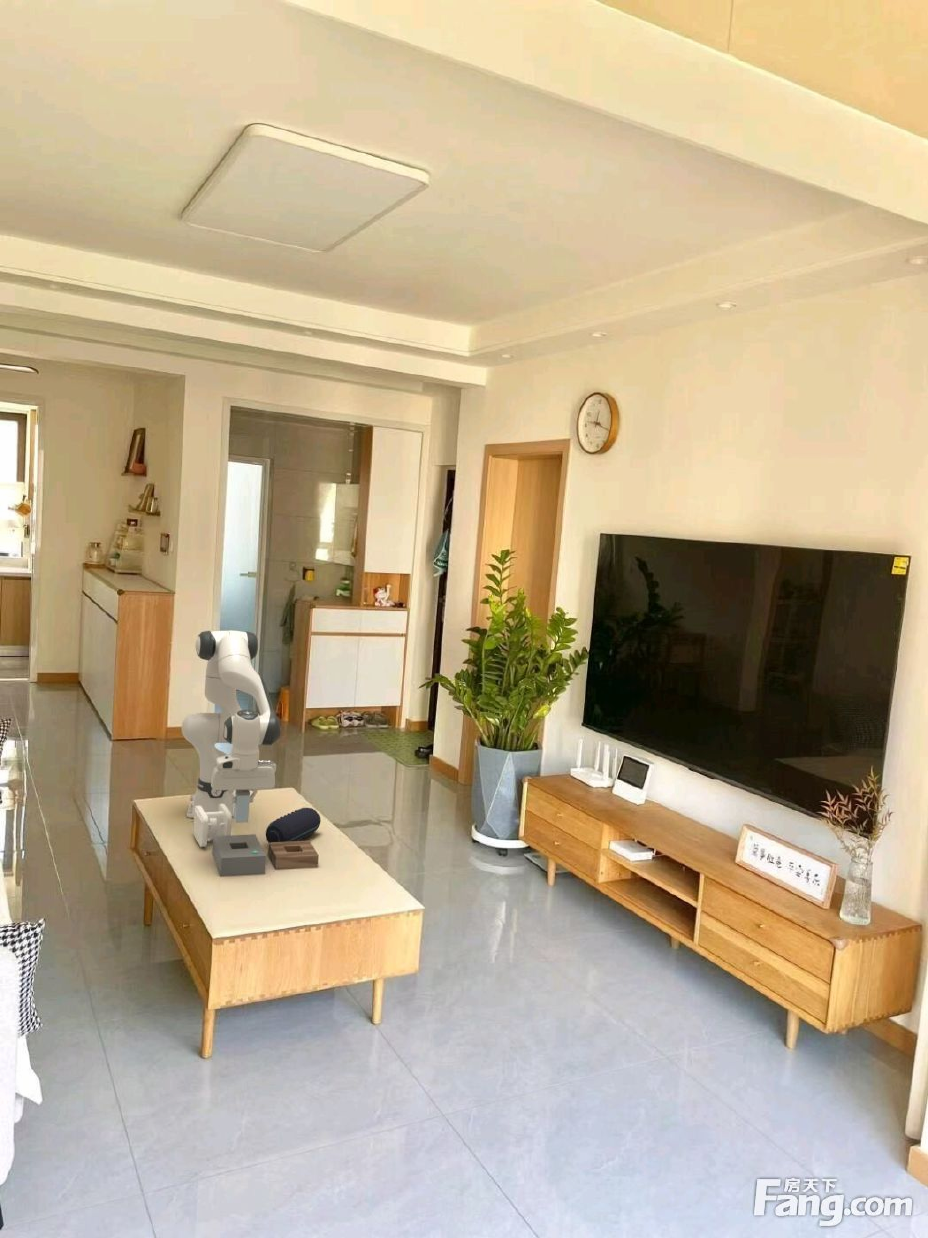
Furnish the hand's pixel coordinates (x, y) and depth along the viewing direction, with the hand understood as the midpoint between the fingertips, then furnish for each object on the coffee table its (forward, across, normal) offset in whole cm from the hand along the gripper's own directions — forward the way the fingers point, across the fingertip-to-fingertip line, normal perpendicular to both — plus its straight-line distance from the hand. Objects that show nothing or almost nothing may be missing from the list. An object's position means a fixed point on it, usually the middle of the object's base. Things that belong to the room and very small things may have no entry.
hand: (242, 802), depth 313 cm
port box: (+21, 0, 0) cm, 21 cm away
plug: (+6, 0, 0) cm, 6 cm away
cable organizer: (+21, +6, -21) cm, 30 cm away
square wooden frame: (+21, -18, 0) cm, 27 cm away
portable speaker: (+21, -22, -18) cm, 35 cm away
